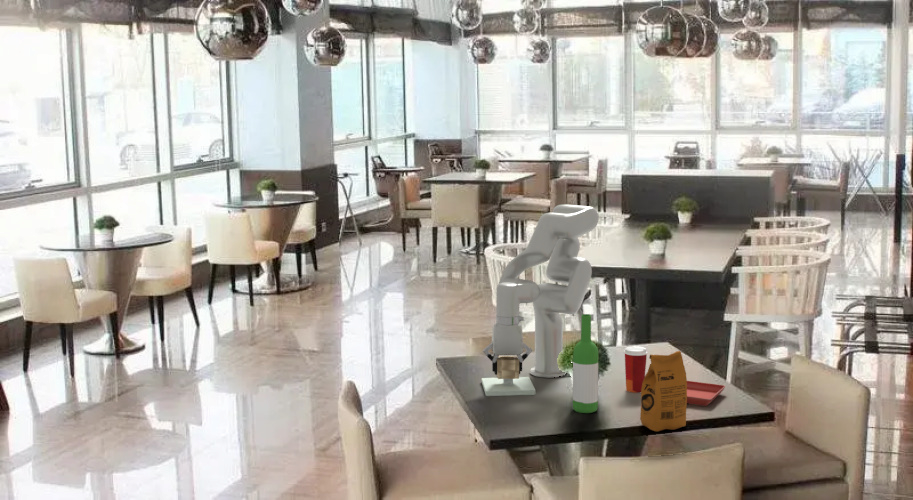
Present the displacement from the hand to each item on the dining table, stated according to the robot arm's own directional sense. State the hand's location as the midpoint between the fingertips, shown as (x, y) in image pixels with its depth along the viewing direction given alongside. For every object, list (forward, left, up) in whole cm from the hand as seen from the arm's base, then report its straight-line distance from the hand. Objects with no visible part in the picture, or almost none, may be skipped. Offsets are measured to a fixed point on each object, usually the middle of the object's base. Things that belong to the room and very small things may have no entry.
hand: (507, 373), depth 368 cm
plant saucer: (-57, +15, -6) cm, 59 cm away
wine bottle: (-21, +26, -5) cm, 34 cm away
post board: (0, 0, -5) cm, 5 cm away
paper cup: (-41, +6, -5) cm, 42 cm away
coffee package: (-41, +43, -6) cm, 60 cm away
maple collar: (0, 0, -1) cm, 1 cm away
